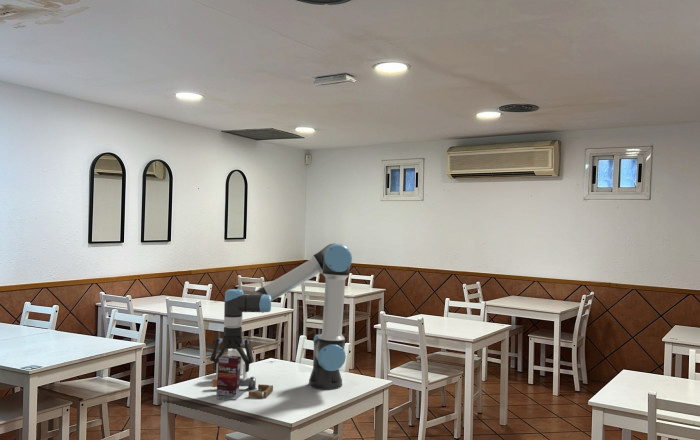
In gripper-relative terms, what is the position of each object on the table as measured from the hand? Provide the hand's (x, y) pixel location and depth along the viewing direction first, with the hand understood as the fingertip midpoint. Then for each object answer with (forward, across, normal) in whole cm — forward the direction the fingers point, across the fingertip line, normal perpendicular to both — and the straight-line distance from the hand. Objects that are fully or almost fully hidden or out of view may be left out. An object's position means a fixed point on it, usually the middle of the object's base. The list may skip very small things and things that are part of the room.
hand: (231, 378), depth 238 cm
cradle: (+7, -9, -6) cm, 13 cm away
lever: (+7, +2, -10) cm, 12 cm away
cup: (+7, +10, -36) cm, 38 cm away
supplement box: (+7, +1, 0) cm, 7 cm away
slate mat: (+7, 0, 0) cm, 7 cm away
